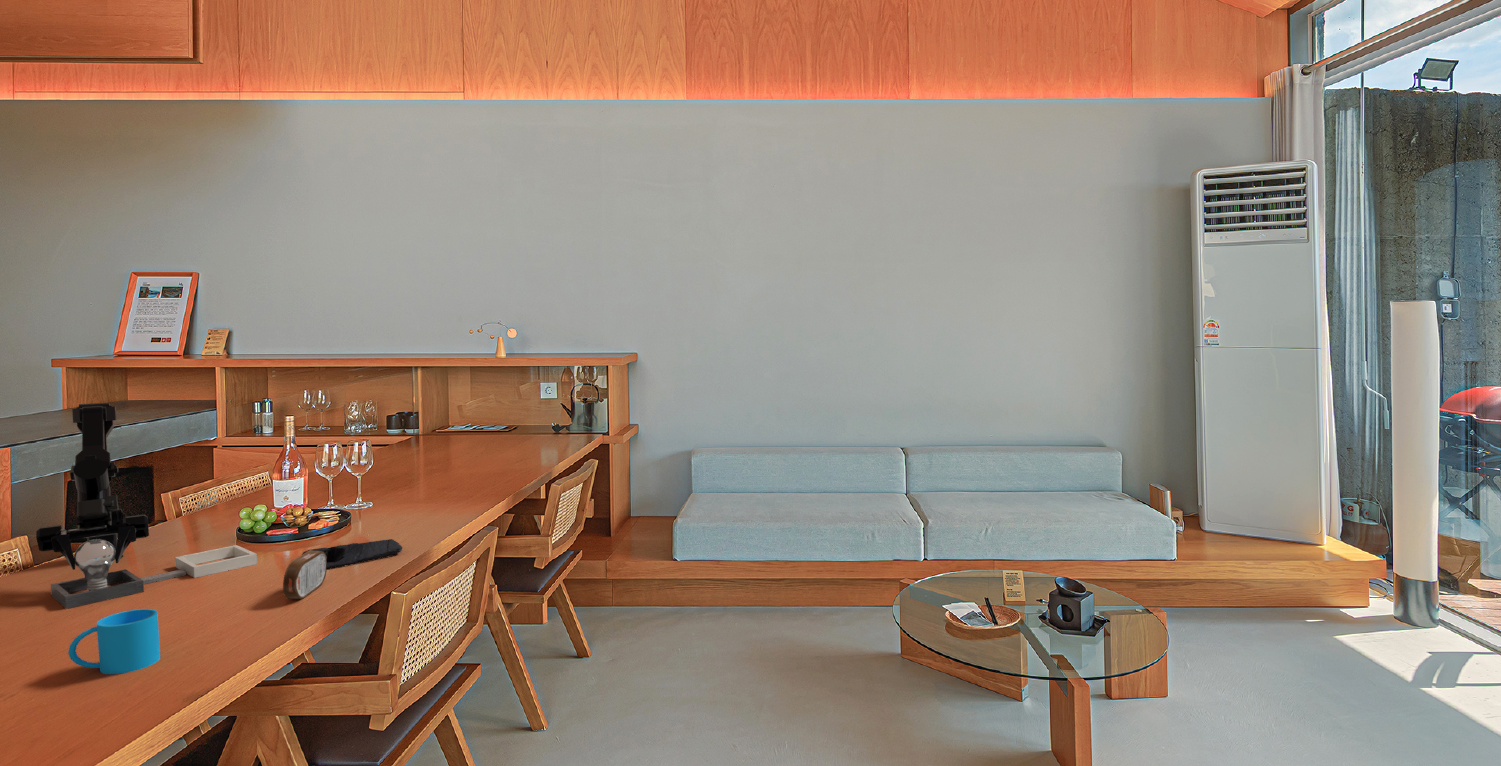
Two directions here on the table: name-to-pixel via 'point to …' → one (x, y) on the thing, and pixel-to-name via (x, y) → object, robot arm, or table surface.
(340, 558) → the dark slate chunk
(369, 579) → the table surface
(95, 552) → the light bulb
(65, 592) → the collar
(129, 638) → the mug
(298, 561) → the tin
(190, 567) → the collar
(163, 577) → the rail strip
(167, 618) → the table surface
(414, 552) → the table surface
